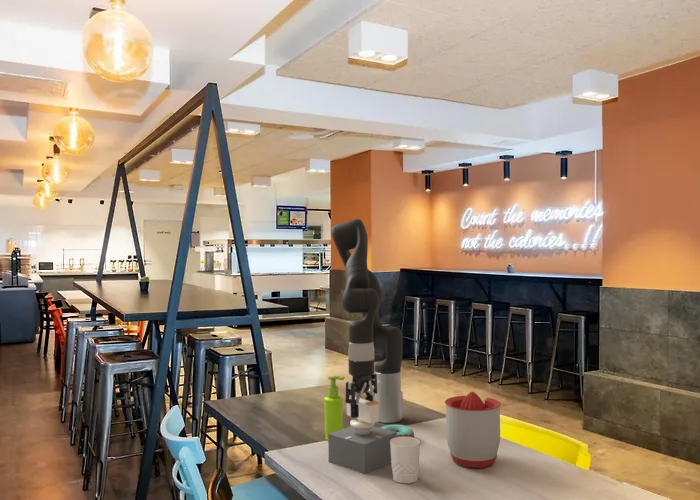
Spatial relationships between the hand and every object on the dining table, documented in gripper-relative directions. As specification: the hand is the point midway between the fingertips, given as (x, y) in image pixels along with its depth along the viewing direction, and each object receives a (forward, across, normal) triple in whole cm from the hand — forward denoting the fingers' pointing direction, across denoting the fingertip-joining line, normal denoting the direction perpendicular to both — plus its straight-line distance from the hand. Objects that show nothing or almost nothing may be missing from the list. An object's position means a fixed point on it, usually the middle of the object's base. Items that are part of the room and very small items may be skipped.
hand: (362, 413), depth 169 cm
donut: (+14, -20, 0) cm, 25 cm away
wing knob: (+3, 0, 0) cm, 3 cm away
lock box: (+14, 0, 0) cm, 14 cm away
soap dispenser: (+14, -13, -18) cm, 26 cm away
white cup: (+14, +6, +16) cm, 22 cm away
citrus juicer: (+14, -16, +28) cm, 35 cm away
